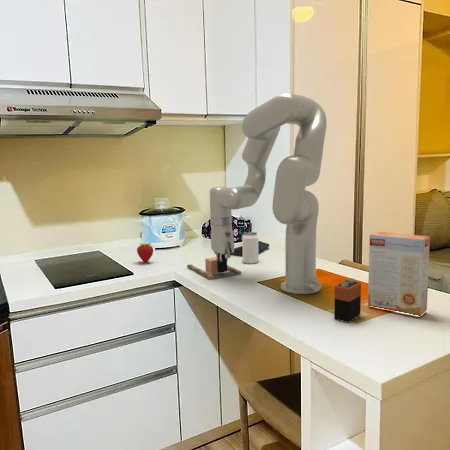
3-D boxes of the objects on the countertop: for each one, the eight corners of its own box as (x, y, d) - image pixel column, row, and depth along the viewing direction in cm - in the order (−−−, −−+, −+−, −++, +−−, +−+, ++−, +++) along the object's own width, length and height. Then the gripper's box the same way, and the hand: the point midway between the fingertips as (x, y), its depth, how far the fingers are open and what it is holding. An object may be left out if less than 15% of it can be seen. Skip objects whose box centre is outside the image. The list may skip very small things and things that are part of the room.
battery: (360, 315, 111) (361, 279, 109) (349, 323, 106) (349, 285, 104) (345, 311, 114) (346, 276, 112) (333, 319, 109) (334, 282, 107)
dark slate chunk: (275, 249, 196) (275, 239, 195) (250, 259, 178) (250, 248, 177) (247, 246, 205) (247, 236, 204) (221, 255, 187) (221, 244, 186)
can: (258, 260, 174) (258, 231, 172) (258, 264, 168) (257, 234, 166) (243, 260, 175) (242, 231, 173) (242, 264, 168) (241, 234, 166)
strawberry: (144, 260, 179) (143, 237, 177) (157, 262, 174) (156, 239, 173) (134, 263, 174) (132, 239, 172) (147, 265, 170) (145, 241, 168)
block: (223, 272, 157) (223, 259, 156) (211, 274, 155) (211, 261, 154) (217, 269, 161) (217, 256, 161) (205, 271, 159) (205, 258, 158)
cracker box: (427, 312, 111) (431, 235, 108) (420, 319, 107) (423, 239, 104) (375, 301, 121) (377, 230, 117) (366, 307, 116) (369, 233, 113)
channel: (241, 274, 153) (241, 271, 153) (209, 279, 147) (209, 276, 147) (216, 263, 171) (216, 260, 170) (187, 267, 165) (187, 264, 164)
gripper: (240, 223, 144) (241, 274, 147) (220, 218, 157) (222, 265, 160) (221, 225, 141) (222, 278, 144) (202, 220, 154) (204, 268, 157)
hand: (222, 271), depth 152 cm, fingers closed
